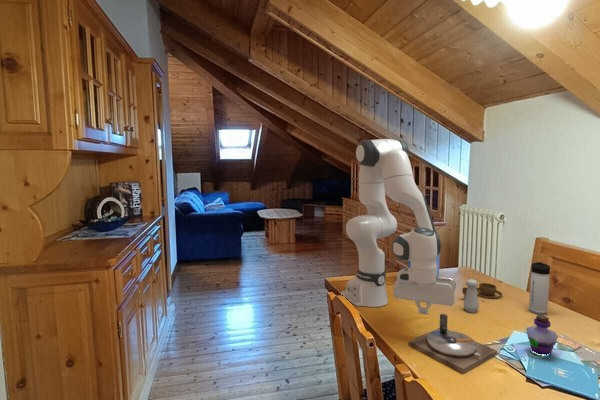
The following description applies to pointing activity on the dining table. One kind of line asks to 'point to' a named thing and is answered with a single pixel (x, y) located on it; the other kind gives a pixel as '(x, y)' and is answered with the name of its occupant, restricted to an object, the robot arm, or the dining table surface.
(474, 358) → the stand
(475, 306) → the salt shaker
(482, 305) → the dining table surface
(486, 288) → the brown cup and saucer
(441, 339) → the dial
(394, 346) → the dining table surface
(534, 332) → the potion bottle
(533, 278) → the travel mug
